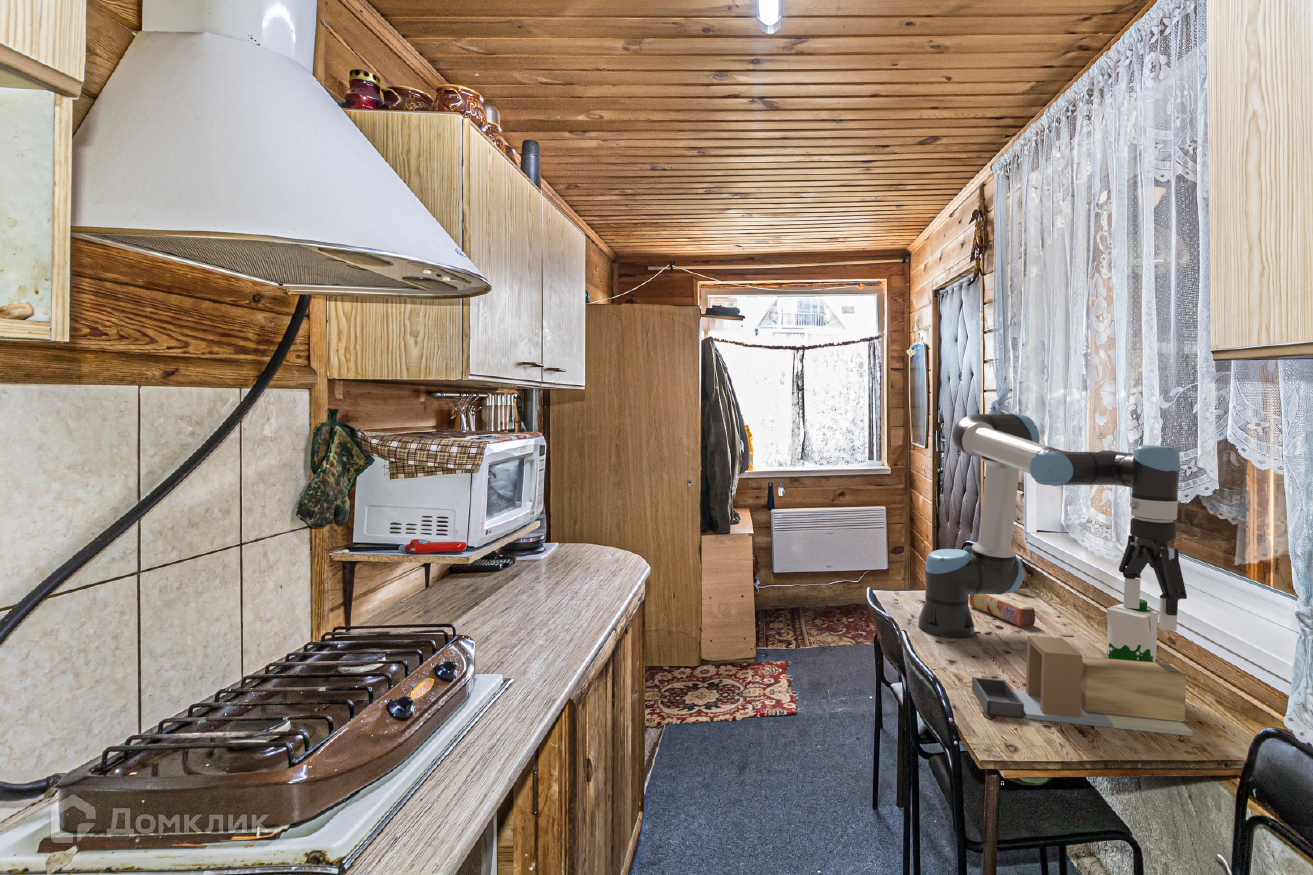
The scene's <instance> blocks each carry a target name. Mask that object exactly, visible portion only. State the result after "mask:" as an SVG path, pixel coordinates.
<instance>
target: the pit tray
mask: <svg viewBox="0 0 1313 875" xmlns="http://www.w3.org/2000/svg"><path fill="white" fill-rule="evenodd" d="M971 678H972V679H971V691H972V692H973V695H974V696H975V697H976V699H977V700H978V702H979V704H980V706H982V708H983V710H984V711H985V713H986V715H989V716H998V717H1006V718H1007V717H1009V718H1016V719H1017V718H1018V719H1024V718H1025V716H1024V704H1023V702H1022V701H1021V700H1020V699H1019V697H1018V696H1017V695H1016V693H1015V692H1014V691H1013V690H1014V689H1013V688H1012V686H1010V684H1009V683H1008V682H1007V680H1005V679H995V678H988V677H987V678H984V677H974V676H973V677H971ZM1012 689H1013V690H1012Z"/></svg>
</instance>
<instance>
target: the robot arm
mask: <svg viewBox="0 0 1313 875" xmlns="http://www.w3.org/2000/svg"><path fill="white" fill-rule="evenodd" d="M1039 432H1040V431H1039V428H1038V427H1037V424H1036V423H1035V422H1034V420H1033V419H1032V418H1031V417H1029V416H1027V415H1024V414H1016V413H974V414H969V415H967V416H963V418H961V419H960V420H958V421H957V423H956V424H955V425H954V427H953V429H952V441H953V444H954V445H955V447H956V448H957V449H958V450H959V451H961V452H962V453H964V454H967V455H969V456H971V457H980V458H981V460H982V461H983V462H984V463H985V465H986V466H985V475H984V482H983V492H982V503H981V513H980V522H979V530H978V531H979V532H978V541H977V542H975V543H974V544H972V545H971V550H970V551H971V552H970V553H969V552H968V551H966V550H964V549H959V548H958V549H957V548H953V549H952V548H942V549H937V550H933V551H931V552H929V554H928V555H927V556H926V561H925V566H924V569H925V589H924V590H925V591H924V592H925V596H924V597H925V598H924V599H925V600H924V603H923V606H922V608H921V611H920V614H919V616H918V623H917V624H918V627H919V628H920V630H922V631H924V632H926V633H929V634H931V635H935V636H940V637H945V638H954V639H963V638H970V637H973V635H975V623H974V621H973V620H974V619H973V617H972V613H971V611H970V606H969V597H970V594H997V595H1001V596H1002V595H1004V594H1011V593H1014V592H1016V591H1017V590H1018V589H1019V588H1020V587H1021V585H1022V583H1023V580H1024V576H1025V575H1024V574H1025V573H1024V572H1025V571H1024V568H1023V563H1022V561H1021V559H1020V558H1019V557H1018V556H1017V552H1016V551H1015V550H1014V549H1013V548H1012V541H1013V540H1012V539H1013V532H1014V531H1013V530H1014V522H1015V514H1016V513H1015V512H1016V504H1017V497H1018V488H1019V480H1020V471H1021V472H1024V473H1027V474H1030V475H1031V478H1032V479H1034V481H1035V482H1036V483H1037V484H1038V485H1041V486H1042V485H1044V486H1053V487H1059V486H1120V487H1126V488H1127V487H1128V488H1131V502H1130V503H1129V506H1130V507H1131V511H1130V513H1131V516H1133V517H1131V519H1130V525H1129V526H1130V527H1129V535H1128V537H1127V544H1126V547H1125V550H1124V553H1123V556H1122V558H1121V562H1120V564H1119V566H1118V567H1119V568H1118V571H1119V573H1122V576H1123V577H1124V588H1123V604H1124V606H1123V607H1125V608H1134V609H1139V602H1140V599H1141V598H1140V597H1141V579H1142V575H1141V573H1142V572H1143V571H1144V569H1145V568H1146V566H1147V564H1148V565H1149V567H1150V568H1152V569H1153V571H1154V573H1155V576H1156V580H1157V582H1158V584H1159V587H1160V591H1161V593H1162V594H1160V595H1159V611H1158V612H1159V615H1158V629H1159V630H1161V631H1174V632H1176V631H1178V630H1177V627H1178V610H1179V609H1178V607H1179V606H1178V605H1179V601H1180V600H1186V599H1187V598H1188V595H1187V590H1186V586H1185V582H1184V579H1183V578H1184V577H1183V574H1182V568H1181V564H1180V558H1179V557H1180V556H1179V555H1180V554H1179V549H1178V548H1172V547H1170V548H1169V546H1168V545H1169V544H1168V542H1169V541H1174V540H1176V538H1177V524H1178V523H1176V522H1175V520H1177V519H1178V504H1179V497H1178V495H1179V481H1180V471H1181V464H1180V461H1181V460H1180V450H1179V449H1178V448H1177V447H1174V446H1169V445H1152V444H1151V445H1150V444H1148V445H1147V444H1145V445H1143V444H1142V445H1137V446H1135V447H1134V449H1133V452H1132V453H1131V452H1123V451H1115V450H1110V449H1109V450H1105V449H1104V450H1102V449H1101V450H1094V451H1066V450H1063V449H1062V450H1061V449H1059V448H1055V447H1053V446H1050V445H1045V444H1044V443H1043V444H1042V443H1040V440H1041V439H1040V433H1039Z"/></svg>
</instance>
